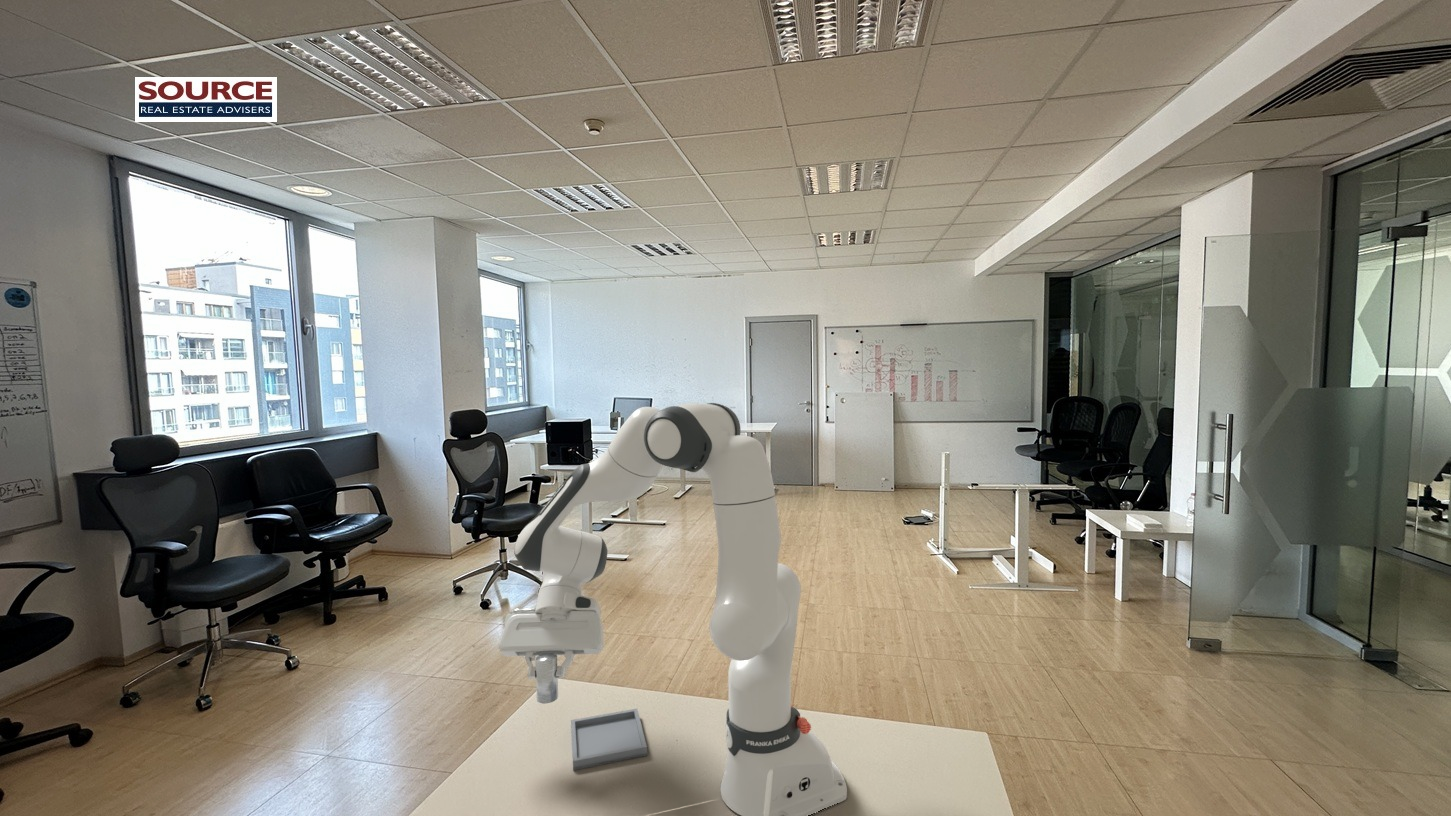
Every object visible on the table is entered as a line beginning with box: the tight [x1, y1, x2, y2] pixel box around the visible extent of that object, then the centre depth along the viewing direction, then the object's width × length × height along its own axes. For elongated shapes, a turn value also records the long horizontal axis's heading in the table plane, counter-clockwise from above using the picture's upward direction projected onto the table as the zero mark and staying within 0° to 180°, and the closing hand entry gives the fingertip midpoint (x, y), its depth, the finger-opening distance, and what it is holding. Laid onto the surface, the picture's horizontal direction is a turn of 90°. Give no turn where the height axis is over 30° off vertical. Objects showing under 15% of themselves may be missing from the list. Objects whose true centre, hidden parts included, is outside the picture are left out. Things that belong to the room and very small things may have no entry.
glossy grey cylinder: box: [535, 653, 559, 705], centre depth 112 cm, size 4×4×8 cm
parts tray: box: [570, 708, 648, 771], centre depth 117 cm, size 14×14×2 cm
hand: (546, 677), depth 111 cm, fingers closed on glossy grey cylinder, 4 cm apart
